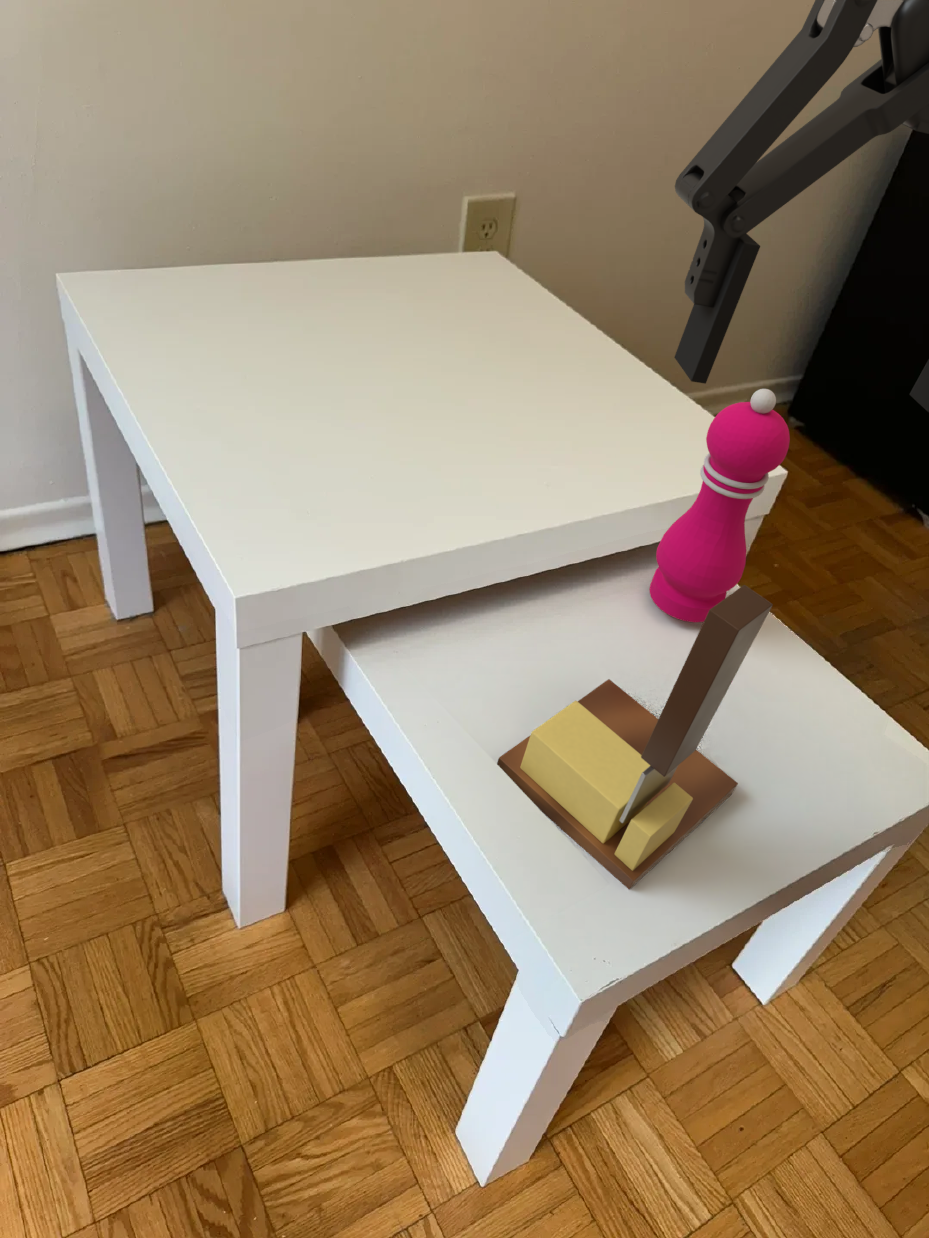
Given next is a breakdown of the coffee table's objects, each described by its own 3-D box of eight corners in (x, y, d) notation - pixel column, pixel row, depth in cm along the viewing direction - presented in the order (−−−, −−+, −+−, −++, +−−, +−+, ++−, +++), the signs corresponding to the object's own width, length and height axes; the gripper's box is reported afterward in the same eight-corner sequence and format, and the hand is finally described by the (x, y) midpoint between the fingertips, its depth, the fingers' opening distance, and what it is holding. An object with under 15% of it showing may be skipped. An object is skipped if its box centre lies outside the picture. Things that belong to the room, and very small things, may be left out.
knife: (677, 791, 59) (781, 597, 47) (631, 832, 57) (729, 637, 45) (656, 773, 60) (752, 578, 48) (609, 812, 57) (700, 615, 46)
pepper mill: (661, 561, 84) (735, 356, 70) (736, 595, 82) (827, 390, 68) (630, 602, 79) (704, 390, 66) (710, 639, 77) (803, 428, 63)
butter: (674, 832, 61) (693, 798, 58) (632, 871, 59) (650, 837, 56) (562, 735, 66) (576, 699, 63) (519, 768, 63) (531, 731, 60)
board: (731, 795, 66) (738, 783, 65) (627, 893, 59) (633, 881, 58) (603, 691, 71) (608, 678, 70) (494, 770, 64) (498, 757, 63)
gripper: (1251, -65, 40) (980, 389, 53) (722, -237, 34) (563, 321, 47) (1409, -49, 34) (1061, 457, 47) (806, -251, 28) (599, 389, 41)
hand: (812, 390), depth 47 cm, fingers open, 13 cm apart
